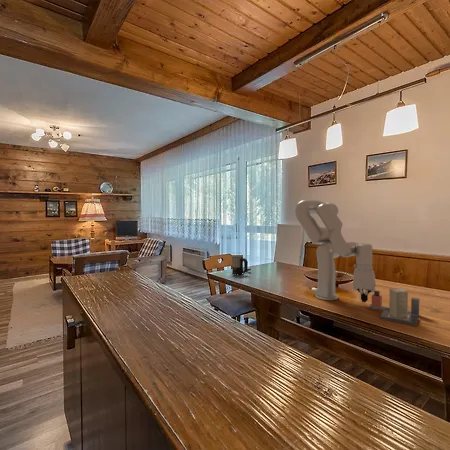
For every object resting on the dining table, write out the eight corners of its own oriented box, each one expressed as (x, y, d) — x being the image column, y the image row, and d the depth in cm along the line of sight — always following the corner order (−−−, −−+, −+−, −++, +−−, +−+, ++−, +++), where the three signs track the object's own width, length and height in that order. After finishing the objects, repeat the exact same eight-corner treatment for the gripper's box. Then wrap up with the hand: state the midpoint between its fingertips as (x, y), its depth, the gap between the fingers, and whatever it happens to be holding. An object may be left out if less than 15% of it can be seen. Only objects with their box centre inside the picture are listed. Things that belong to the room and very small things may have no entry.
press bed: (379, 318, 132) (379, 315, 131) (383, 312, 139) (383, 309, 139) (415, 326, 123) (415, 322, 123) (418, 318, 130) (418, 316, 130)
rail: (369, 307, 146) (369, 292, 146) (370, 306, 148) (371, 291, 148) (418, 317, 133) (419, 300, 132) (419, 315, 135) (419, 298, 135)
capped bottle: (371, 305, 145) (371, 291, 145) (373, 303, 148) (373, 289, 148) (380, 306, 142) (380, 293, 142) (381, 304, 146) (382, 291, 145)
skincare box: (401, 313, 133) (402, 288, 133) (408, 317, 129) (408, 291, 128) (388, 314, 133) (389, 288, 133) (394, 317, 129) (395, 291, 128)
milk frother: (230, 275, 226) (230, 256, 226) (236, 271, 241) (235, 253, 240) (247, 276, 222) (247, 257, 221) (252, 271, 237) (252, 254, 236)
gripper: (347, 266, 150) (347, 300, 151) (378, 269, 140) (378, 306, 141) (351, 264, 156) (351, 297, 156) (381, 267, 146) (381, 302, 147)
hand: (364, 301), depth 149 cm, fingers closed
